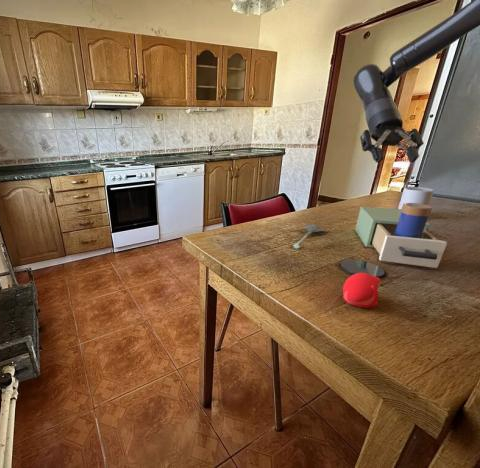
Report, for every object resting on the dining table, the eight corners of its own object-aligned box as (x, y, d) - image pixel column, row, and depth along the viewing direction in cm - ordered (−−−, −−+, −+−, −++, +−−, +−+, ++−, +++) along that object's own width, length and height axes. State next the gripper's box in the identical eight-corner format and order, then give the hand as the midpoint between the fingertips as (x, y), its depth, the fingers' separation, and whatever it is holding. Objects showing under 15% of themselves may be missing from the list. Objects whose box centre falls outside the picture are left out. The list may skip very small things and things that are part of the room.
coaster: (378, 264, 67) (378, 262, 67) (389, 281, 60) (389, 279, 59) (338, 258, 71) (338, 257, 71) (343, 274, 63) (344, 272, 63)
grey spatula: (327, 233, 90) (307, 229, 95) (328, 223, 89) (308, 221, 94) (307, 251, 75) (284, 246, 80) (308, 240, 74) (285, 236, 79)
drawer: (446, 276, 59) (457, 249, 57) (384, 267, 64) (392, 242, 61) (413, 245, 75) (421, 223, 73) (366, 240, 79) (371, 219, 77)
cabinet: (420, 253, 72) (430, 224, 69) (365, 246, 77) (373, 219, 74) (400, 234, 85) (408, 209, 82) (355, 230, 90) (360, 206, 87)
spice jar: (410, 249, 70) (426, 203, 65) (419, 258, 65) (436, 209, 61) (386, 247, 72) (399, 202, 67) (392, 255, 68) (407, 207, 63)
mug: (423, 221, 97) (433, 192, 93) (394, 216, 103) (402, 189, 99) (426, 214, 104) (435, 187, 100) (398, 210, 110) (406, 184, 106)
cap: (370, 317, 49) (379, 290, 46) (335, 303, 53) (341, 277, 51) (381, 299, 53) (390, 274, 51) (348, 288, 58) (355, 264, 55)
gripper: (363, 108, 75) (377, 151, 69) (418, 106, 73) (437, 150, 67) (350, 128, 82) (361, 169, 76) (399, 126, 80) (415, 168, 74)
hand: (397, 160), depth 71 cm, fingers open, 8 cm apart
